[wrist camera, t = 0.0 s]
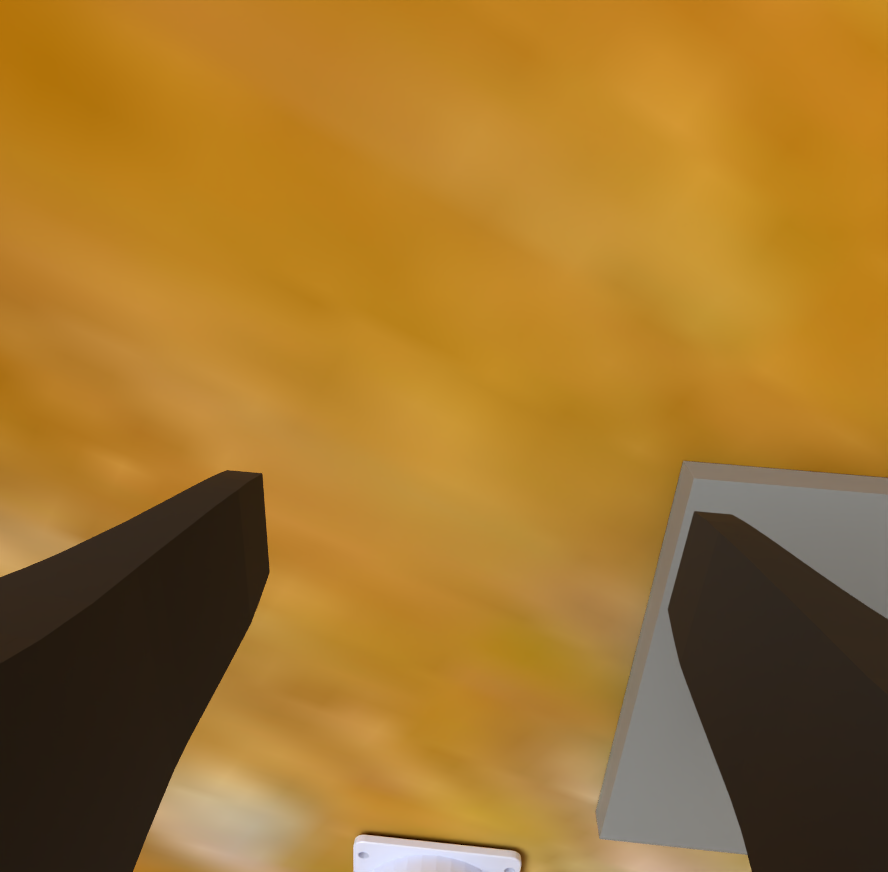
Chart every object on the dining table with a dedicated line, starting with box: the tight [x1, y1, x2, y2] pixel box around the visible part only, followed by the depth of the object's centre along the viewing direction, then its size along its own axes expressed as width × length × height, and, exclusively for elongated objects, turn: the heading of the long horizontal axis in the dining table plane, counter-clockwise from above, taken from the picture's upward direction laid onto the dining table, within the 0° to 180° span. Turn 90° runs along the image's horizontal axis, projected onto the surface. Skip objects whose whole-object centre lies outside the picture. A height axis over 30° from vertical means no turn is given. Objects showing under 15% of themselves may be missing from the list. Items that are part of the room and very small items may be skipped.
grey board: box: [596, 461, 888, 855], centre depth 24 cm, size 18×16×1 cm
